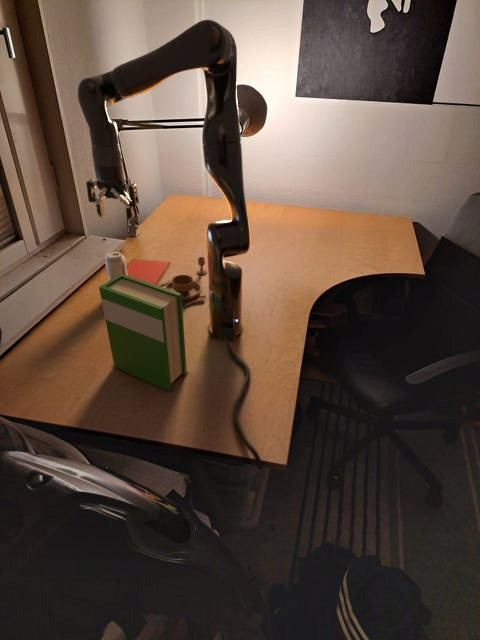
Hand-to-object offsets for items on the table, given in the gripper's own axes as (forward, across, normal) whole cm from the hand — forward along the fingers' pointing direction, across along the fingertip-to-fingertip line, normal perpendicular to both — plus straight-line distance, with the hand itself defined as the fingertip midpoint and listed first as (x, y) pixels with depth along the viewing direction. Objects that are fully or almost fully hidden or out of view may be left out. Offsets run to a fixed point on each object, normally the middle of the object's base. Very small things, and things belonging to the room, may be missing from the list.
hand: (116, 217), depth 124 cm
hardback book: (+26, +21, -34) cm, 47 cm away
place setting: (+26, +20, +8) cm, 34 cm away
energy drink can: (+27, -2, -2) cm, 27 cm away
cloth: (+27, 0, +13) cm, 30 cm away
